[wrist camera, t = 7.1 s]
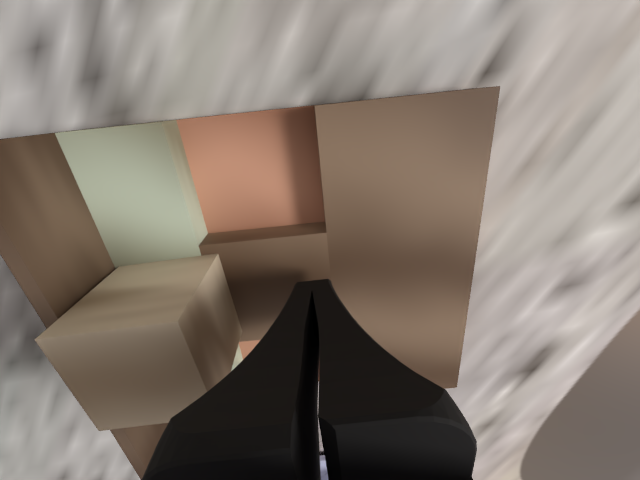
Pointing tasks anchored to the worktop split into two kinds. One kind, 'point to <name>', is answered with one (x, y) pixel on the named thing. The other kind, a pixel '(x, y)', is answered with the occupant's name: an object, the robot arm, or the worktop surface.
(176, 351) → the birch block
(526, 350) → the worktop surface
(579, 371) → the worktop surface
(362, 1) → the worktop surface
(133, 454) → the box
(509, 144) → the worktop surface
